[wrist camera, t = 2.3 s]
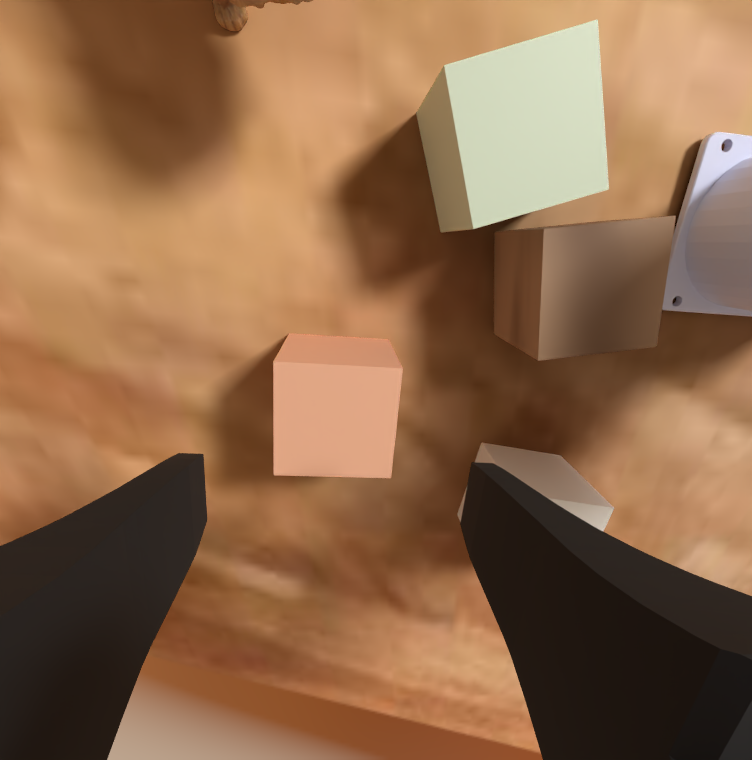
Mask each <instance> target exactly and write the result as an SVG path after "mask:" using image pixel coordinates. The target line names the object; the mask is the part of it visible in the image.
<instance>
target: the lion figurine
mask: <svg viewBox="0 0 752 760" xmlns="http://www.w3.org/2000/svg"><path fill="white" fill-rule="evenodd" d="M212 1H213V7H214V12H215V17H216V19H217V21H218V23H219V24H220V25H221V26H222V27H223V28H225V29H227V30H230V31H238V30H241V29H242V28H243V26H244V24H245V23H246V22H247V20H248V13H247V10H246V8H245V7H247V6H255V7H257V8H263V7H264V4H265V3H267V2H274V3H281V4H286V3H294V4H296V5H298V4H299V3H300V2H302V1H304V2H310V1H313V0H212Z"/></svg>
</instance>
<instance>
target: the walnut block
mask: <svg viewBox="0 0 752 760" xmlns="http://www.w3.org/2000/svg"><path fill="white" fill-rule="evenodd" d="M675 219H676V216H664V217H651V218H638V219H624V220H611V221H598V222H587V223H577V224H568V225H558V226H548V227H538V228H528V229H518V230H508V231H499V232H494V334H495V335H496V336H498V337H500V338H501V339H503V340H504V341H506V342H508V343H509V344H511V345H513V346H514V347H516V348H518V349H519V350H521V351H523V352H524V353H526V354H528V355H529V356H531V357H533V358H534V359H536V360H537V361H541V360H550V359H558V358H566V357H575V356H583V355H592V354H600V353H609V352H617V351H626V350H634V349H643V348H651V347H657V341H658V334H659V328H660V321H661V314H662V307H663V300H664V294H665V287H666V280H667V273H668V266H669V260H670V253H671V246H672V239H673V233H674V226H675Z"/></svg>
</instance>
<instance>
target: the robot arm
mask: <svg viewBox="0 0 752 760" xmlns="http://www.w3.org/2000/svg"><path fill="white" fill-rule="evenodd" d="M723 142H724V144H725V146H724V150H723V151H722V149H721V145H722V143H723ZM675 297H676V301H675V303H674V304H672V301H673V299H674V298H675ZM662 310H668V311H682V312H695V313H709V314H723V315H737V316H751V317H752V136H748V135H740V134H732V133H724V132H716V133H712V134H709V135H708V136H706V137H705V138H704V139H703V140H702V142H701V145H700V148H699V151H698V154H697V158H696V161H695V164H694V168H693V171H692V174H691V178H690V181H689V184H688V188H687V191H686V194H685V198H684V201H683V204H682V208H681V211H680V214H679V218H678V221H677V224H676V228H675V231H674V234H673V239H672V246H671V253H670V260H669V266H668V273H667V280H666V287H665V294H664V300H663V307H662ZM206 522H207V508H206V491H205V474H204V457H203V454H187V453H178V454H176V455H174V456H172V457H170V458H168V459H167V460H165V461H163V462H161V463H160V464H158V465H156V466H155V467H153V468H151V469H149V470H148V471H146V472H144V473H143V474H141V475H139V476H138V477H136V478H134V479H132V480H131V481H129V482H127V483H126V484H124V485H122V486H121V487H119V488H117V489H115V490H114V491H112V492H110V493H108V494H106V495H105V496H103V497H101V498H99V499H97V500H95V501H93V502H92V503H90V504H88V505H86V506H84V507H82V508H80V509H79V510H77V511H75V512H73V513H71V514H69V515H67V516H65V517H63V518H61V519H59V520H57V521H55V522H53V523H51V524H49V525H47V526H45V527H43V528H40V529H38V530H36V531H34V532H32V533H29V534H27V535H25V536H23V537H20V538H18V539H16V540H14V541H11V542H9V543H7V544H4V545H2V546H0V760H107V758H108V755H109V753H110V750H111V747H112V744H113V742H114V739H115V736H116V733H117V731H118V728H119V725H120V722H121V719H122V717H123V714H124V712H125V709H126V707H127V704H128V701H129V698H130V696H131V694H132V691H133V688H134V686H135V683H136V681H137V678H138V675H139V673H140V670H141V667H142V665H143V663H144V661H145V658H146V656H147V654H148V652H149V649H150V647H151V645H152V643H153V641H154V639H155V637H156V635H157V633H158V631H159V629H160V627H161V625H162V623H163V621H164V619H165V616H166V614H167V612H168V610H169V608H170V606H171V604H172V602H173V600H174V598H175V596H176V594H177V592H178V590H179V588H180V586H181V584H182V582H183V580H184V578H185V576H186V574H187V572H188V570H189V568H190V566H191V564H192V561H193V559H194V557H195V555H196V552H197V549H198V546H199V543H200V541H201V538H202V535H203V531H204V528H205V525H206ZM460 524H461V528H462V532H463V536H464V540H465V543H466V547H467V550H468V553H469V557H470V559H471V562H472V564H473V567H474V569H475V571H476V574H477V576H478V578H479V581H480V583H481V586H482V588H483V590H484V593H485V595H486V597H487V599H488V602H489V604H490V606H491V609H492V611H493V613H494V616H495V618H496V620H497V623H498V625H499V627H500V630H501V632H502V634H503V636H504V639H505V642H506V644H507V647H508V649H509V652H510V655H511V657H512V660H513V664H514V667H515V670H516V673H517V676H518V679H519V682H520V685H521V688H522V691H523V694H524V698H525V701H526V704H527V707H528V711H529V714H530V717H531V721H532V724H533V727H534V731H535V734H536V737H537V741H538V744H539V747H540V751H541V754H542V758H543V760H752V596H750V595H747V594H744V593H741V592H739V591H736V590H733V589H730V588H728V587H725V586H722V585H719V584H717V583H714V582H712V581H709V580H707V579H704V578H702V577H699V576H697V575H694V574H692V573H689V572H687V571H685V570H682V569H680V568H678V567H675V566H673V565H671V564H668V563H666V562H664V561H662V560H659V559H657V558H655V557H653V556H651V555H648V554H646V553H644V552H642V551H640V550H638V549H636V548H634V547H632V546H630V545H628V544H626V543H624V542H622V541H620V540H618V539H616V538H614V537H612V536H610V535H608V534H607V533H605V532H603V531H601V530H599V529H597V528H596V527H594V526H592V525H590V524H589V523H587V522H585V521H584V520H582V519H580V518H579V517H577V516H575V515H574V514H572V513H570V512H569V511H567V510H565V509H564V508H562V507H561V506H559V505H557V504H556V503H554V502H553V501H551V500H550V499H548V498H547V497H545V496H544V495H542V494H541V493H539V492H538V491H536V490H535V489H533V488H532V487H530V486H529V485H527V484H526V483H524V482H523V481H521V480H520V479H518V478H517V477H515V476H514V475H512V474H511V473H509V472H507V471H506V470H504V469H503V468H501V467H499V466H497V465H496V464H494V463H477V462H472V463H471V468H470V474H469V479H468V484H467V490H466V495H465V501H464V506H463V512H462V517H461V522H460Z"/></svg>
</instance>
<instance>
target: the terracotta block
mask: <svg viewBox="0 0 752 760" xmlns="http://www.w3.org/2000/svg"><path fill="white" fill-rule="evenodd" d="M402 372H403V368H402V366H401V364H400V362H399V359H398V357H397V355H396V353H395V351H394V349H393V347H392V345H391V343H390V341H389V339H374V338H358V337H341V336H325V335H309V334H292V333H289V334H288V336H287V338H286V340H285V342H284V343H283V345H282V347H281V349H280V351H279V352H278V354H277V356H276V358H275V360H274V361H273V427H274V475H283V476H325V477H366V478H391V474H392V464H393V455H394V446H395V437H396V427H397V418H398V409H399V400H400V390H401V381H402Z"/></svg>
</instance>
